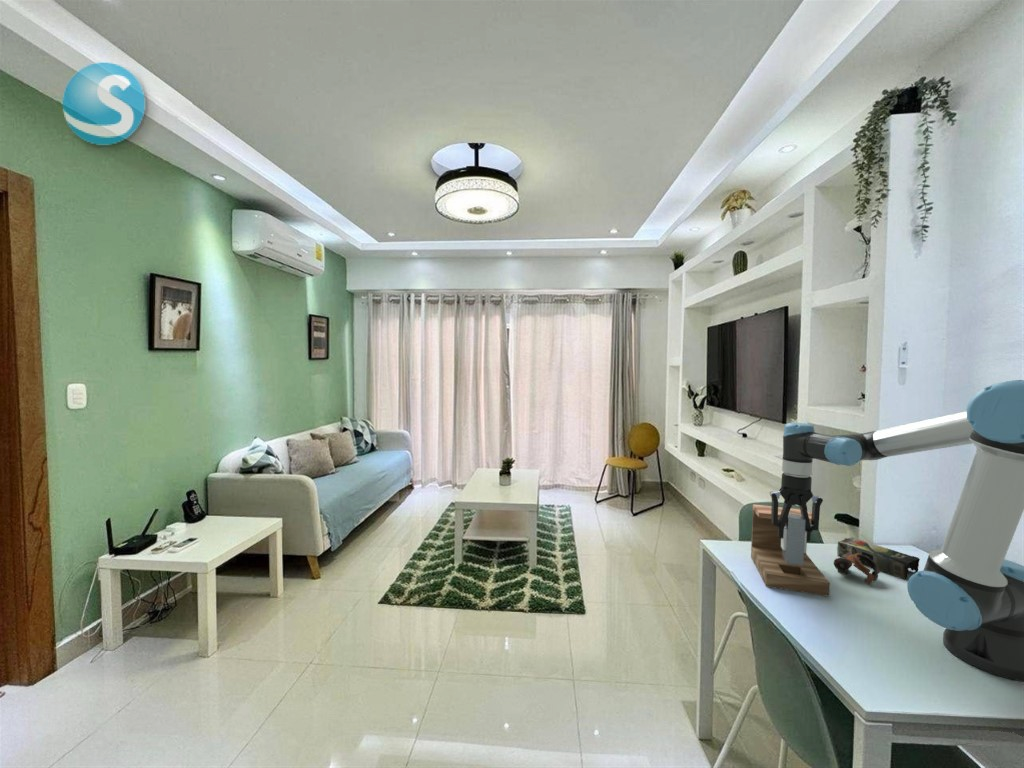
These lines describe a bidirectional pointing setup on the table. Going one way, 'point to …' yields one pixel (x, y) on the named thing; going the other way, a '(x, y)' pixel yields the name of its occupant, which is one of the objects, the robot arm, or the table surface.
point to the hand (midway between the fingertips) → (793, 549)
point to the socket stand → (770, 557)
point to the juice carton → (879, 557)
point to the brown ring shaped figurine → (857, 566)
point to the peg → (794, 540)
